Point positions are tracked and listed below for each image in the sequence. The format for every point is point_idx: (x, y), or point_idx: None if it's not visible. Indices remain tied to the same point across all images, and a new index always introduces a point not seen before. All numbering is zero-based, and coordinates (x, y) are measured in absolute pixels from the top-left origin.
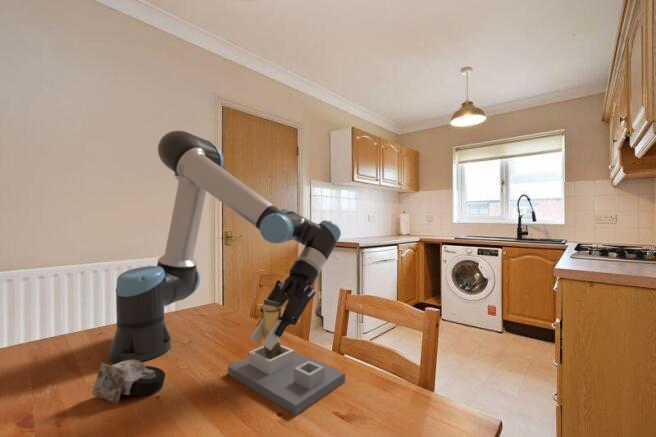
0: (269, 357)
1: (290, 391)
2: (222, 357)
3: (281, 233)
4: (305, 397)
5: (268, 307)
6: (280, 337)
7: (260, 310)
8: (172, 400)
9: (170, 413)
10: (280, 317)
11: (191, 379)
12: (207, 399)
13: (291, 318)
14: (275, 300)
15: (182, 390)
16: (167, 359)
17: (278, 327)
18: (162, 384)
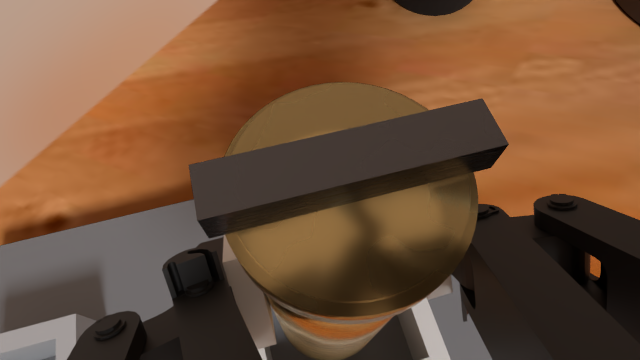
0: (392, 328)
1: (61, 275)
2: (554, 185)
3: None
4: None
5: (273, 106)
6: (282, 326)
7: (553, 194)
8: (332, 24)
9: (276, 15)
10: (199, 256)
11: (422, 73)
12: (280, 85)
13: (81, 345)
14: (563, 316)
15: (369, 47)
16: (604, 40)
17: (221, 262)
18: (416, 7)
